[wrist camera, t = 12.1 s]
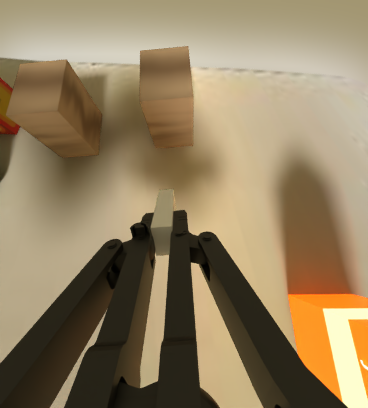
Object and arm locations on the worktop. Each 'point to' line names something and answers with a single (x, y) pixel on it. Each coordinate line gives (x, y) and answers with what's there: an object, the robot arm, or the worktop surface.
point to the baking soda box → (3, 124)
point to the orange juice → (334, 342)
